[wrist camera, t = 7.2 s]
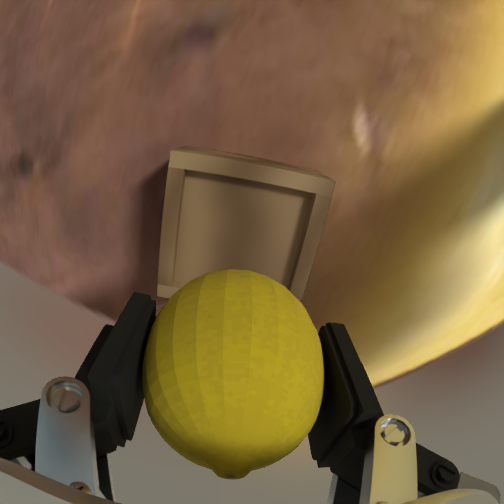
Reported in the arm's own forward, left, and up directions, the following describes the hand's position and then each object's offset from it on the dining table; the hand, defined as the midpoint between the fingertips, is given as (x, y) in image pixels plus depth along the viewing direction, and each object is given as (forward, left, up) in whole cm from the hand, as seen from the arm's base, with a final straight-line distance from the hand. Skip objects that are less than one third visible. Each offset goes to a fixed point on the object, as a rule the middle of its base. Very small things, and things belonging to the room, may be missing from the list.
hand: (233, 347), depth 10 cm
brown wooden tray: (0, 0, -15) cm, 15 cm away
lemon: (0, 0, -3) cm, 3 cm away
